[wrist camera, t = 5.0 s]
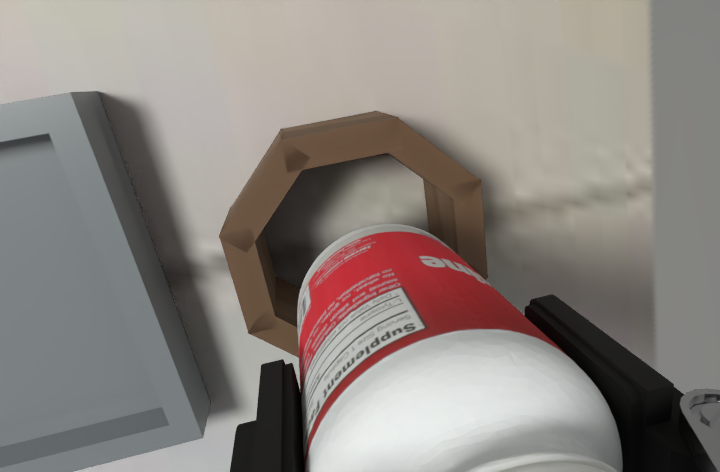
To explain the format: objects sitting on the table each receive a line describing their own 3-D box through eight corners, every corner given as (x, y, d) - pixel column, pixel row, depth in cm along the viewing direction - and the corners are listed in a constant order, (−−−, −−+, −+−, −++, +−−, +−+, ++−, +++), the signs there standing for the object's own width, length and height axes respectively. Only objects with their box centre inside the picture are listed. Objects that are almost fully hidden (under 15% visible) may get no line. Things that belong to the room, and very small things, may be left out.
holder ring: (459, 296, 24) (492, 336, 20) (268, 342, 23) (265, 393, 19) (439, 98, 20) (475, 101, 16) (211, 141, 19) (194, 155, 15)
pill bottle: (491, 308, 17) (831, 657, 6) (363, 401, 17) (486, 878, 7) (402, 181, 15) (690, 392, 4) (258, 290, 15) (199, 733, 5)
